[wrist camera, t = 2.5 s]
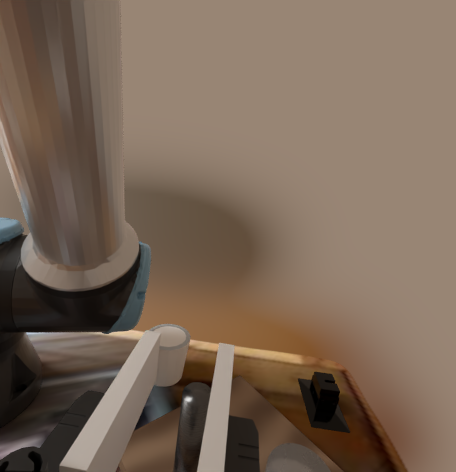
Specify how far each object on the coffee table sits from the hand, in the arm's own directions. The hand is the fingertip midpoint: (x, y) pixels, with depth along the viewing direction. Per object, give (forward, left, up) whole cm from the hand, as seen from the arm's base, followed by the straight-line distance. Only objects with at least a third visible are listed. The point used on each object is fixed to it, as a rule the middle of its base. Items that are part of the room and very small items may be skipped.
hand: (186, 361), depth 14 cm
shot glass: (-23, +14, -24) cm, 36 cm away
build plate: (-5, +31, -25) cm, 40 cm away
